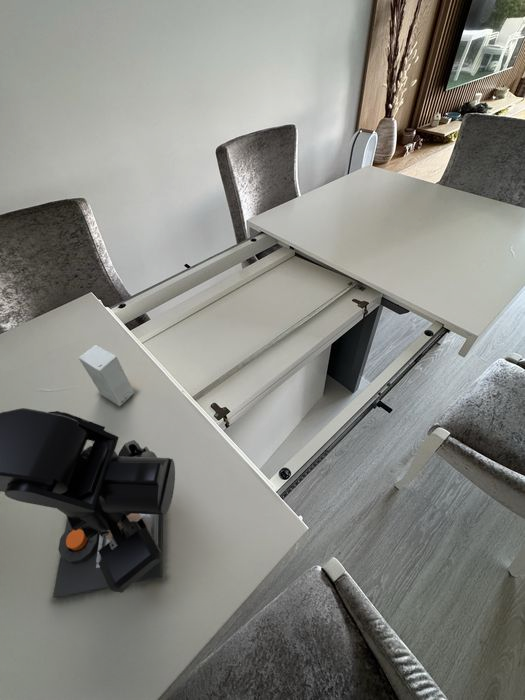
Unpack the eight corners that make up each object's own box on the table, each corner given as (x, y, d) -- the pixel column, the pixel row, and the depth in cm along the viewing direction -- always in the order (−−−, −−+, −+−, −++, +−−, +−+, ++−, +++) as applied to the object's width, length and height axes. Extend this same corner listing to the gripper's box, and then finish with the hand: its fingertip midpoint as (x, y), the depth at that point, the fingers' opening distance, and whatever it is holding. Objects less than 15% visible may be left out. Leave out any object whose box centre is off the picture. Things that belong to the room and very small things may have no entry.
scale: (57, 598, 50) (47, 596, 48) (73, 505, 58) (65, 499, 56) (162, 577, 52) (157, 574, 49) (163, 490, 60) (159, 483, 58)
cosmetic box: (135, 392, 73) (117, 356, 64) (120, 407, 71) (99, 371, 62) (115, 380, 75) (95, 343, 66) (100, 394, 73) (76, 358, 64)
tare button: (68, 552, 52) (63, 549, 50) (71, 533, 53) (67, 530, 52) (86, 548, 52) (82, 546, 51) (89, 530, 54) (85, 527, 52)
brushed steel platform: (96, 568, 50) (93, 567, 49) (104, 506, 55) (101, 504, 55) (157, 556, 51) (155, 555, 50) (159, 497, 56) (157, 494, 55)
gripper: (188, 510, 39) (205, 542, 50) (116, 400, 48) (145, 449, 60) (91, 586, 34) (134, 602, 46) (32, 448, 43) (81, 491, 55)
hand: (125, 527), depth 52 cm, fingers closed on egg, 5 cm apart
